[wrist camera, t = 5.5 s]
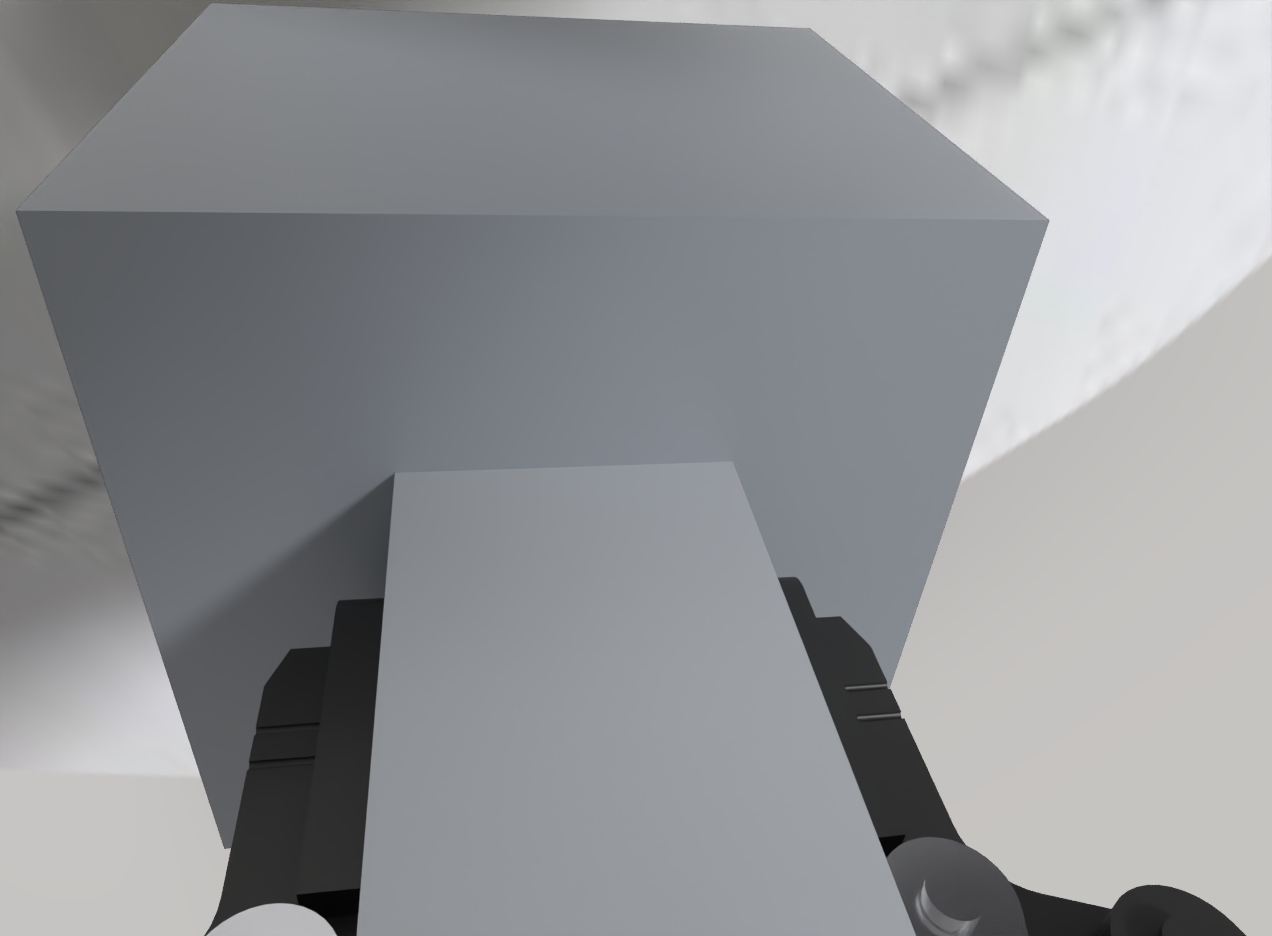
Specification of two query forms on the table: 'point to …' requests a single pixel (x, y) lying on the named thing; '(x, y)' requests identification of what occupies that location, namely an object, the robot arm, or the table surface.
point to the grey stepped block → (538, 431)
